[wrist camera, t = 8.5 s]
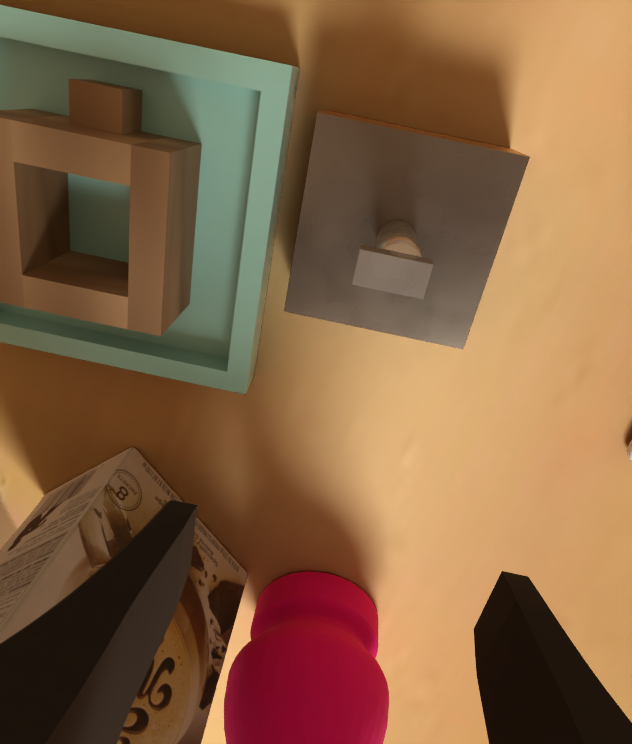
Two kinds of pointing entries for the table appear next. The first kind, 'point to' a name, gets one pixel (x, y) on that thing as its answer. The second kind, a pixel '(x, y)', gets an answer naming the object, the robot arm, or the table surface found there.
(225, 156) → the tray
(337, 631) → the pepper mill
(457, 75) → the table surface
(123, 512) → the coffee box
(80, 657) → the robot arm
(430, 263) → the block
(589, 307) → the table surface
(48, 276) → the ring
